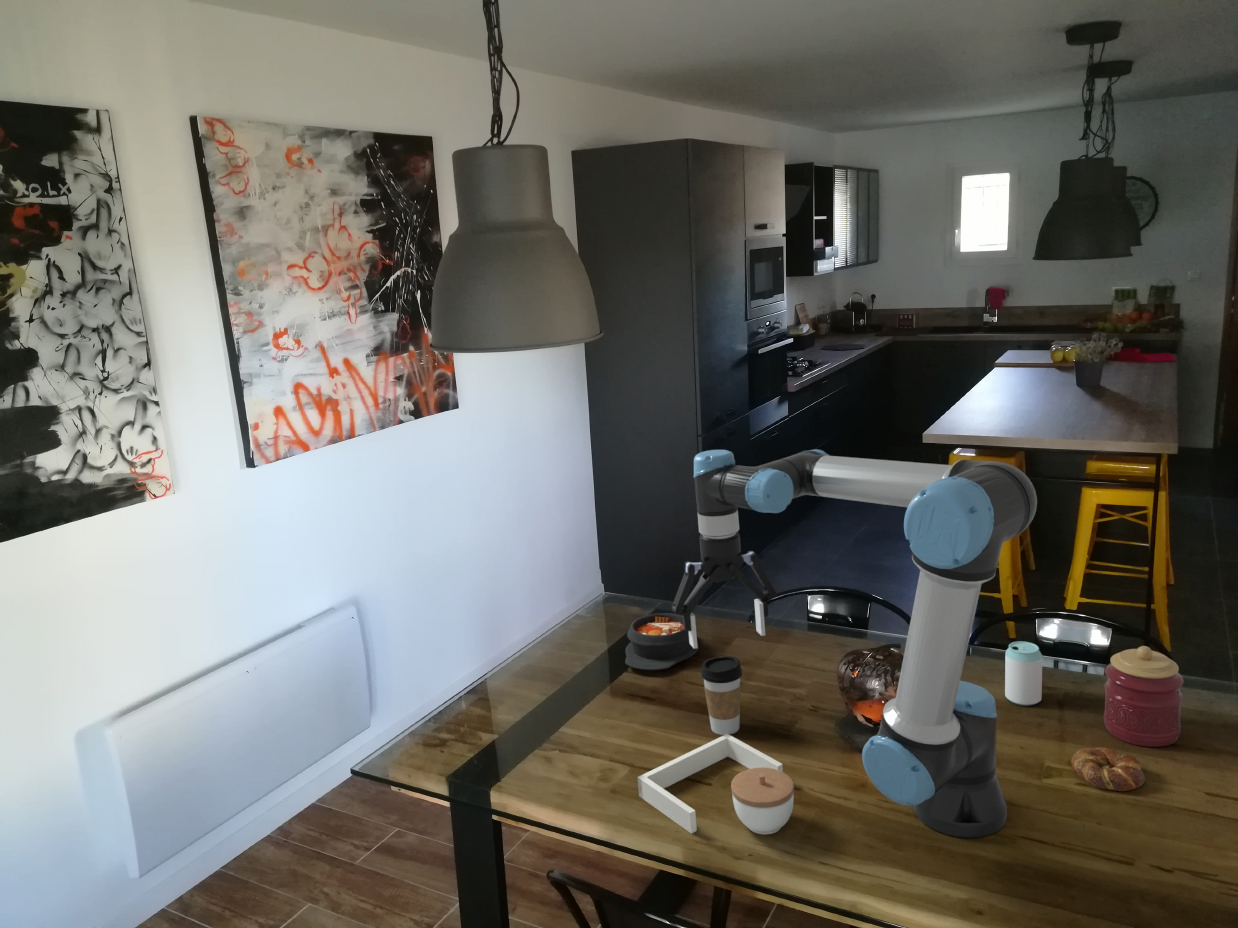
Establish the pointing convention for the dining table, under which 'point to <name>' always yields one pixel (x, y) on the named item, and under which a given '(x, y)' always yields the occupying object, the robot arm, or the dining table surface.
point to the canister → (1143, 698)
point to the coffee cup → (723, 693)
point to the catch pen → (691, 763)
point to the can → (1023, 673)
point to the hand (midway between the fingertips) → (727, 639)
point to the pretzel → (1108, 769)
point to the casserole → (658, 642)
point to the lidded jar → (763, 799)
